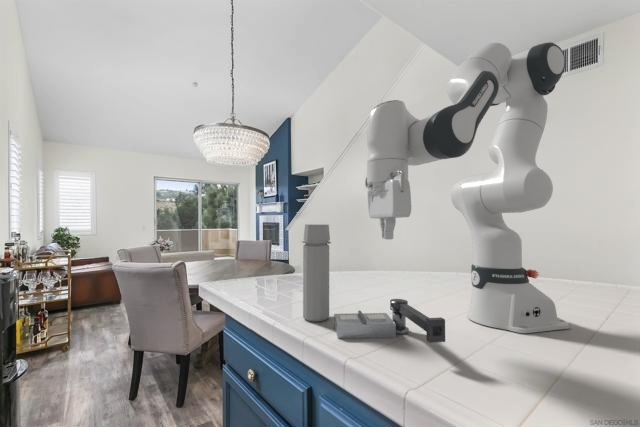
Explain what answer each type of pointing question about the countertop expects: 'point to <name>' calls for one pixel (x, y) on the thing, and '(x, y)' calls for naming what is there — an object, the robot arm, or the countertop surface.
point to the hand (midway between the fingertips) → (387, 239)
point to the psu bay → (364, 325)
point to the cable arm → (421, 320)
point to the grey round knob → (400, 322)
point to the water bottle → (316, 272)
